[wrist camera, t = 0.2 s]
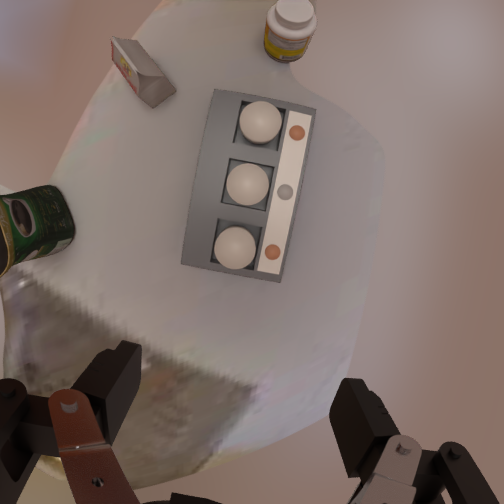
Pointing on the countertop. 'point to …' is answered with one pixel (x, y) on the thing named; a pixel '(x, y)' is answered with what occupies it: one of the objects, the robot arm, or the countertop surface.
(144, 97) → the grey carton box
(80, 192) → the countertop surface
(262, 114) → the button
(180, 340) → the countertop surface
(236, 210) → the button board
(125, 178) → the countertop surface
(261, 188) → the middle button
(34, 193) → the coffee jar
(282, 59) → the supplement bottle
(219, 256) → the button
